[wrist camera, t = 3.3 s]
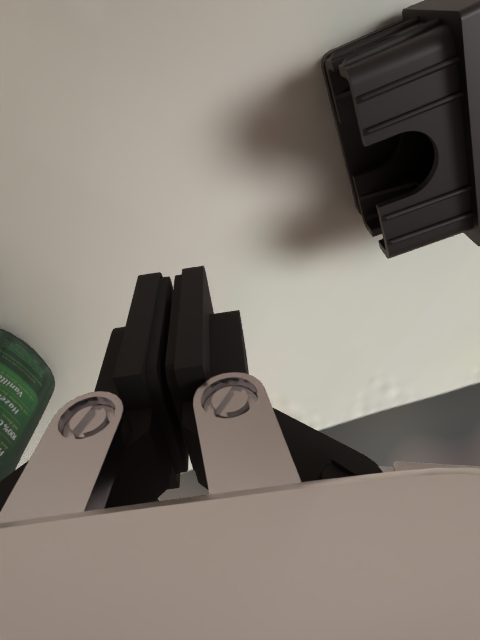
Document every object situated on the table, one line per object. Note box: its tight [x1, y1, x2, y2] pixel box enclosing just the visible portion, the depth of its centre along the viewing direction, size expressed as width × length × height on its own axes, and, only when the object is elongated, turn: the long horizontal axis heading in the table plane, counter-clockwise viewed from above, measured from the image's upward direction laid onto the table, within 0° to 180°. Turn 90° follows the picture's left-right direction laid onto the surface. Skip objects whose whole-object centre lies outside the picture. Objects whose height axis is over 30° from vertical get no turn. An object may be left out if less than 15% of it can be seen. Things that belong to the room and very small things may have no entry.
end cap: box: [322, 0, 480, 259], centre depth 22 cm, size 10×7×7 cm
